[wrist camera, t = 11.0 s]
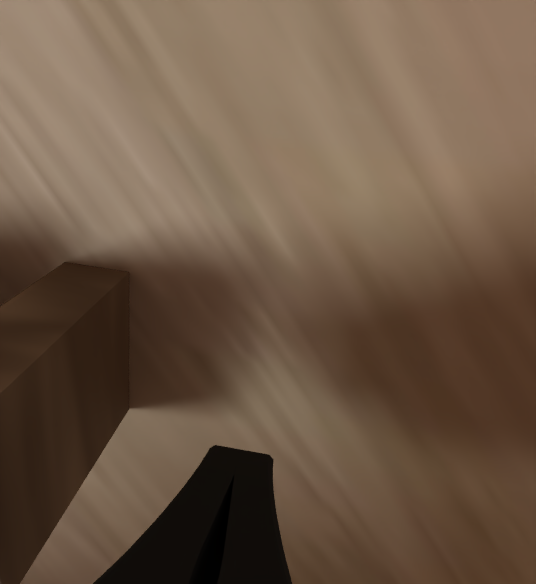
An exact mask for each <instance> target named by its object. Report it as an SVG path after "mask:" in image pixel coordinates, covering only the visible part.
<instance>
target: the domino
mask: <svg viewBox="0 0 536 584" xmlns="http://www.w3.org/2000/svg"><path fill="white" fill-rule="evenodd" d="M128 410H129V272H125V271H118V270H112V269H105V268H99V267H92V266H86V265H79V264H73V263H66V262H65V263H63V264H62V265H60V266H59V267H57V268H56V269H54V270H53V271H52V272H50V273H49V274H47V275H46V276H44V277H43V278H41V279H40V280H38V281H37V282H35V283H34V284H33V285H31V286H30V287H28V288H27V289H25V290H24V291H22V292H21V293H19V294H18V295H16V296H15V297H13V298H12V299H11V300H9V301H8V302H6V303H5V304H3V305H2V306H0V584H20V582H21V581H22V579H23V578H24V576H25V574H26V573H27V571H28V570H29V568H30V566H31V565H32V563H33V562H34V560H35V558H36V557H37V555H38V554H39V552H40V550H41V549H42V547H43V546H44V544H45V542H46V541H47V539H48V538H49V536H50V534H51V533H52V531H53V530H54V528H55V526H56V525H57V523H58V522H59V520H60V518H61V517H62V515H63V514H64V512H65V510H66V509H67V507H68V506H69V504H70V502H71V501H72V499H73V498H74V496H75V494H76V493H77V491H78V490H79V488H80V487H81V485H82V483H83V482H84V480H85V479H86V477H87V475H88V474H89V472H90V471H91V469H92V467H93V466H94V464H95V463H96V461H97V459H98V458H99V456H100V455H101V453H102V451H103V450H104V448H105V447H106V445H107V443H108V442H109V440H110V439H111V437H112V435H113V434H114V432H115V431H116V429H117V427H118V426H119V424H120V423H121V421H122V419H123V418H124V416H125V415H126V413H127V411H128Z"/></svg>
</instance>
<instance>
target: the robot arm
mask: <svg viewBox="0 0 536 584" xmlns="http://www.w3.org/2000/svg"><path fill="white" fill-rule="evenodd" d="M93 584H292V582H291V578H290V574H289V570H288V566H287V562H286V558H285V554H284V550H283V545H282V541H281V535H280V530H279V525H278V520H277V514H276V508H275V500H274V491H273V459H272V458H271V456H270V455H268V454H262V453H256V452H251V451H245V450H240V449H234V448H228V447H223V446H217V445H215V446H213V447H211V448H210V449H209V451H208V452H207V454H206V456H205V457H204V459H203V460H202V462H201V463H200V465H199V466H198V468H197V469H196V471H195V472H194V473H193V475H192V476H191V478H190V479H189V480H188V482H187V483H186V484H185V486H184V487H183V488H182V489H181V491H180V492H179V493H178V494H177V496H176V497H175V498H174V499H173V500H172V502H171V503H170V504H169V505H168V506H167V508H166V509H165V510H164V511H163V513H162V514H161V515H160V516H159V517H158V518H157V519H156V521H155V522H154V523H153V524H152V525H151V526H150V527H149V528H148V529H147V530H146V531H145V532H144V534H143V535H142V536H141V537H140V538H139V539H138V540H137V541H136V542H135V543H134V544H133V545H132V546H131V547H130V548H129V550H128V551H127V552H126V553H125V554H124V555H123V556H122V557H121V558H120V559H119V560H117V561H116V562H115V563H114V564H113V565H112V566H111V567H110V568H109V569H108V570H107V571H106V572H105V573H104V574H103V575H102V576H101V577H99V578H98V579H97V580H96V581H95V582H94V583H93Z"/></svg>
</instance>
